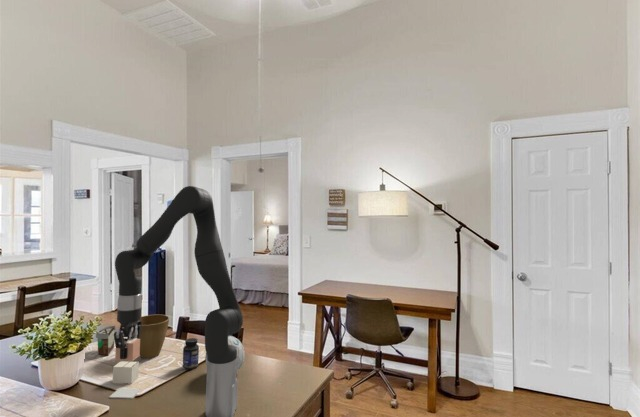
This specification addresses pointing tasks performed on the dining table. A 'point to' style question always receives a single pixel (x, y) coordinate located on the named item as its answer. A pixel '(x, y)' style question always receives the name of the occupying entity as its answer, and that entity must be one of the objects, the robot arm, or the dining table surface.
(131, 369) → the cream rounded block
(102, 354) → the food container
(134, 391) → the mat
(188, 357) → the pill bottle
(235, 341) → the puzzle ball
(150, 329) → the plant pot
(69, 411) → the dining table surface
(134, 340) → the pink block
